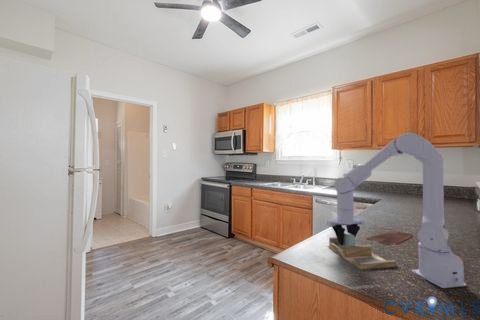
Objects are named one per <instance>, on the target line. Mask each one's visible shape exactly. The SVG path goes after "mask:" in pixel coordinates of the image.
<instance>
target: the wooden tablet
mask: <svg viewBox="0 0 480 320" xmlns="http://www.w3.org/2000/svg"><path fill="white" fill-rule="evenodd" d="M412 237H414V234H413V233H407V232H401V231H388V232H383V233H379V234H375V235H372V236H369V237H366V240H368V241H374V242H375V241H376V242H378V243H379V244H381V245H384V246H392V245H394V244H395V245H398V244H400V243H403V241H406V240H408V239H410V238H412Z"/></svg>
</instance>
